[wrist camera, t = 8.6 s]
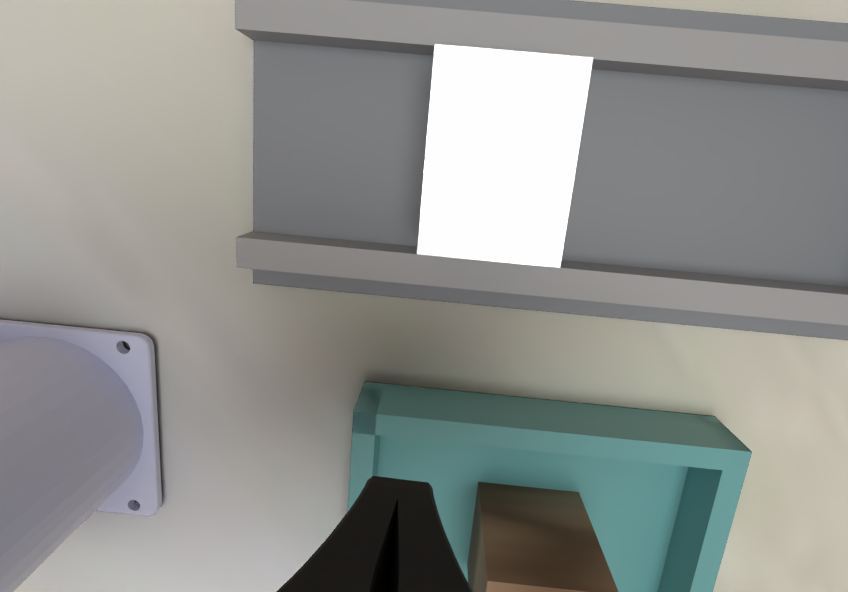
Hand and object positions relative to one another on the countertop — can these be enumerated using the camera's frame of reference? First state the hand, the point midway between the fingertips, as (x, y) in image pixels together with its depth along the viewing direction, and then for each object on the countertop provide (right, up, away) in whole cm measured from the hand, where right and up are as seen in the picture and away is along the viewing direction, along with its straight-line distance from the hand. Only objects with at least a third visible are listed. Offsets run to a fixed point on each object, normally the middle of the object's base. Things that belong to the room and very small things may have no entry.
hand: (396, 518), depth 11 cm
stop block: (+5, -5, +10) cm, 12 cm away
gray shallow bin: (+6, +9, +6) cm, 13 cm away
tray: (+5, -5, +10) cm, 12 cm away
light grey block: (+3, +9, +7) cm, 12 cm away
